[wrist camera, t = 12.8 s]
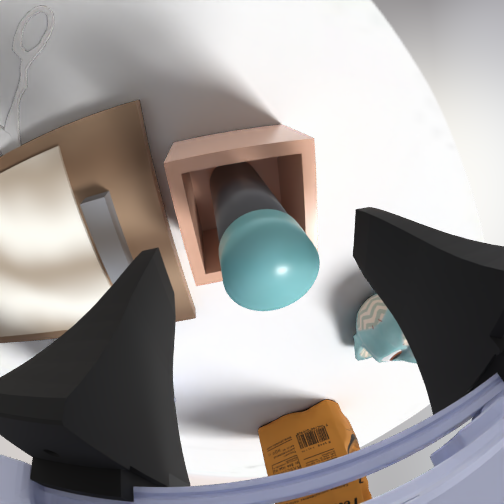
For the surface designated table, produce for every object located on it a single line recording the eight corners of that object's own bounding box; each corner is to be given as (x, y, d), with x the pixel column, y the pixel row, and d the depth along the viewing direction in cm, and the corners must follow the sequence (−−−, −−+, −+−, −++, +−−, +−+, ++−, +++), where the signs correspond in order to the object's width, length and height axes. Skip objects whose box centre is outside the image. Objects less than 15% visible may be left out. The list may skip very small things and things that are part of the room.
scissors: (50, -19, 7) (122, 261, 18) (55, -16, 8) (124, 255, 18) (-56, 65, 6) (17, 291, 17) (-51, 65, 7) (21, 285, 18)
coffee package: (346, 413, 38) (393, 528, 20) (275, 441, 39) (306, 556, 21) (335, 391, 33) (393, 537, 14) (248, 425, 34) (283, 568, 15)
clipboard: (195, 309, 21) (196, 327, 20) (-11, 337, 19) (-18, 350, 18) (139, 99, 13) (131, 101, 11) (-78, 212, 11) (-90, 223, 10)
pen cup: (289, 219, 19) (317, 260, 15) (195, 237, 18) (196, 286, 14) (281, 124, 15) (314, 138, 11) (173, 142, 15) (163, 163, 11)
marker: (262, 201, 17) (318, 299, 10) (212, 211, 17) (231, 319, 9) (256, 153, 16) (319, 219, 8) (203, 162, 15) (213, 240, 8)
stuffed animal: (398, 393, 27) (351, 402, 19) (369, 347, 32) (314, 336, 25) (469, 328, 23) (457, 309, 16) (432, 285, 28) (400, 248, 21)
